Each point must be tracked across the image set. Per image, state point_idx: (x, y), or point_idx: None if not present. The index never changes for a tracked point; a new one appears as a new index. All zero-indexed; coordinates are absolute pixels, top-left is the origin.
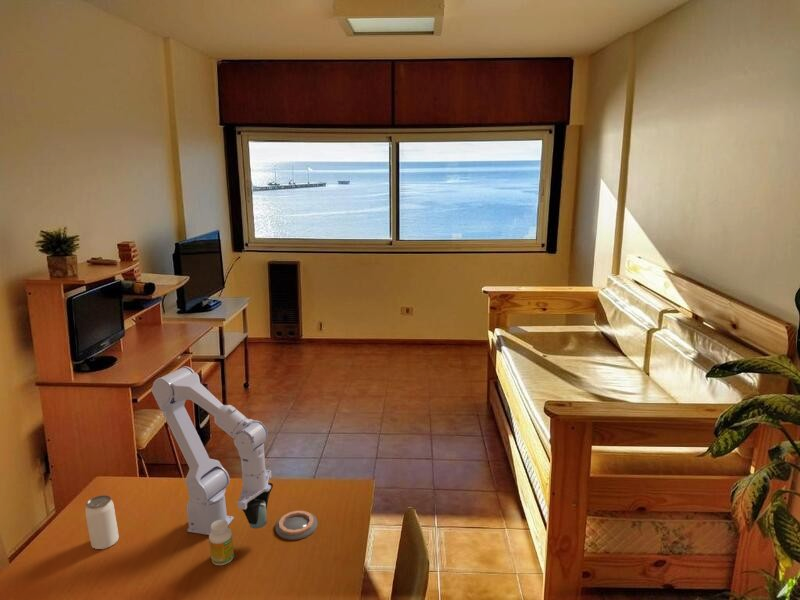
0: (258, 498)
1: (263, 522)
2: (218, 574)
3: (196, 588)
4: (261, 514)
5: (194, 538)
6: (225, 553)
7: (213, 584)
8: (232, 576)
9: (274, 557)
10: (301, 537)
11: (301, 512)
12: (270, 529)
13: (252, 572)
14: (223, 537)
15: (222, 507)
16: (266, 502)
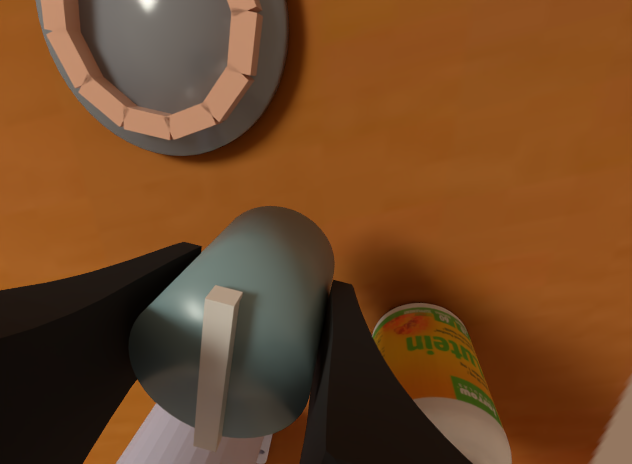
0: (122, 369)
1: (304, 232)
2: (522, 338)
3: (591, 396)
4: (297, 281)
5: (297, 436)
6: (476, 362)
7: (586, 345)
8: (552, 283)
9: (439, 103)
10: None
11: (56, 3)
12: (214, 176)
13: (545, 199)
14: (498, 454)
15: (186, 457)
16: (141, 276)
